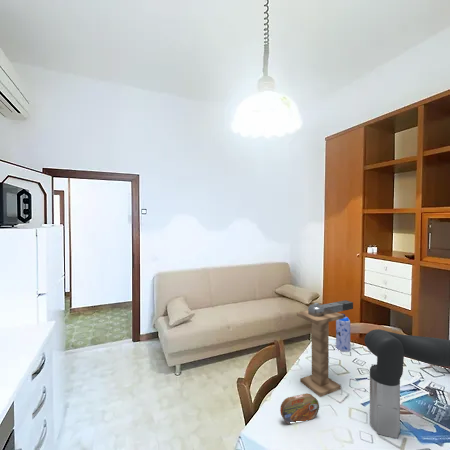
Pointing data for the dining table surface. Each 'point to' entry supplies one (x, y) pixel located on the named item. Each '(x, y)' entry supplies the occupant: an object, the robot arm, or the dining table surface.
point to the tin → (299, 408)
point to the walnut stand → (320, 354)
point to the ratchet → (329, 308)
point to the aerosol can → (343, 334)
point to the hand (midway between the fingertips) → (424, 350)
